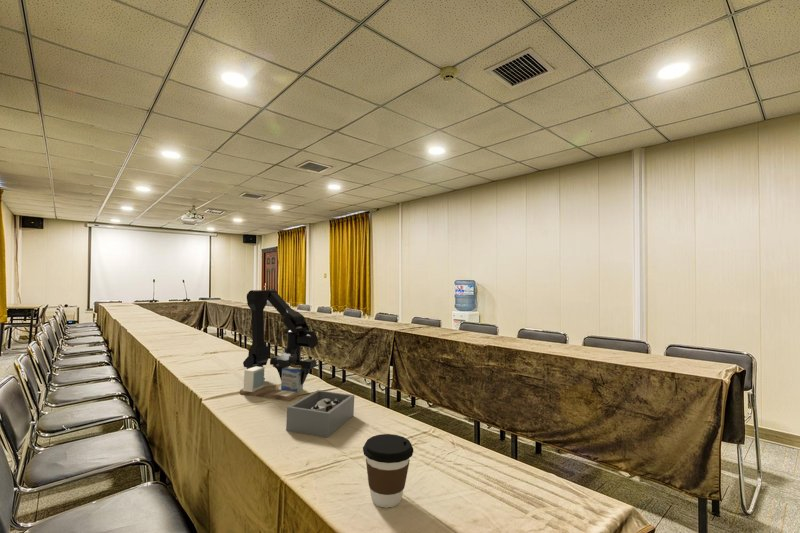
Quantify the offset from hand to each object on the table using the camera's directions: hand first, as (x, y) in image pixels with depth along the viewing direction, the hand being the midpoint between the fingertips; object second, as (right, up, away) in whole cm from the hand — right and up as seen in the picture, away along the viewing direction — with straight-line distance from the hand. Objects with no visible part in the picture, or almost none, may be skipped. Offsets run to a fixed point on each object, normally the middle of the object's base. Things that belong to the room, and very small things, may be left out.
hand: (292, 383), depth 157 cm
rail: (-7, -2, -9) cm, 11 cm away
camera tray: (+19, -2, -34) cm, 39 cm away
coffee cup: (+41, -2, -75) cm, 86 cm away
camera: (+20, -3, -35) cm, 40 cm away
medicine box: (0, -3, 0) cm, 3 cm away
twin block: (-13, 0, -7) cm, 15 cm away
